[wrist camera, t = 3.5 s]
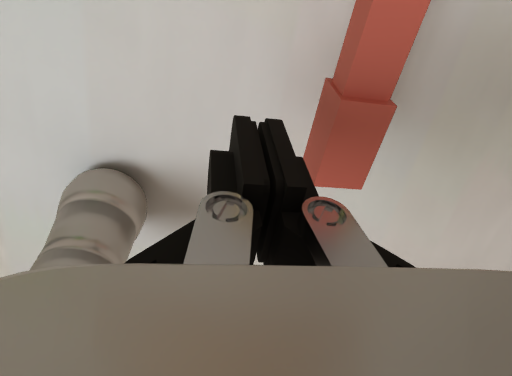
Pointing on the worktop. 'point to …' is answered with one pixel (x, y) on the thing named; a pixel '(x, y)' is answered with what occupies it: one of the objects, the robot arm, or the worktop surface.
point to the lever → (361, 92)
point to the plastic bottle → (95, 221)
